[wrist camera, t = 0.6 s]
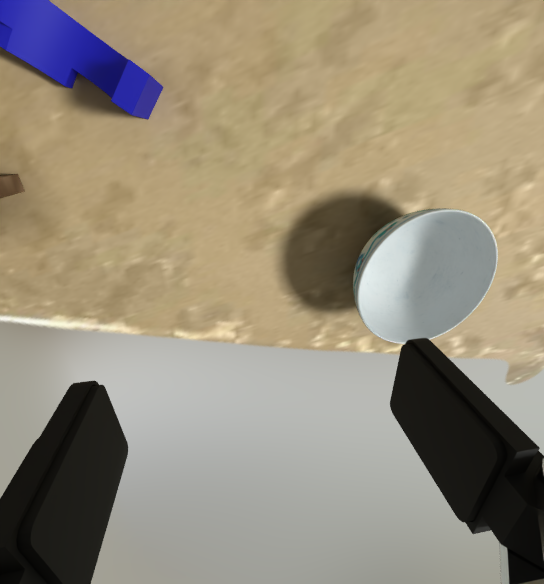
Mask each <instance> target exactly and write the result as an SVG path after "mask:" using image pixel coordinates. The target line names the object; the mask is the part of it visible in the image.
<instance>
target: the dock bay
mask: <svg viewBox="0 0 544 584" xmlns="http://www.w3.org/2000/svg"><path fill="white" fill-rule="evenodd" d="M24 191H25V190H24V188H23V185H22V183H21V181H20V178H19V176H18V174H14V175H0V198H3V197H6V196H10V195H13V194H17V193H21V192H24Z"/></svg>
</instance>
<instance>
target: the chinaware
mask: <svg viewBox="0 0 544 584" xmlns="http://www.w3.org/2000/svg"><path fill="white" fill-rule="evenodd" d="M497 260H498V251H497V244H496V240H495V238H494V235H493V233H492V231H491V230H490V228H489V227H488V226H487V224H486V223H485V222H484V221H483V220H481V219H480V218H479V217H477V216H475V215H473V214H471V213H469V212H466V211H462V210H457V209H428V210H421V211H417V212H413V213H409V214H406V215H404V216H401V217H399V218H397V219H395V220H393V221H391V222H389V223H388V224H386V225H385V226H384V227H382V228H381V229H380V230H378V231H377V232H376V233H375V234H374V235H373V236H372V237H371V238H370V240H369V241H368V242H367V244H366V245H365V246H364V248H363V250H362V251H361V253H360V255H359V258H358V260H357V263H356V266H355V270H354V276H353V292H354V298H355V303H356V306H357V309H358V312H359V314H360V317H361V319H362V320H363V322H364V324H365V325H366V326H367V328H368V329H369V330H370V331H371V332H372V333H374V334H375V335H376V336H378V337H380V338H382V339H384V340H386V341H389V342H394V343H401V344H406V342H407V340H411V339H418V338H427V339H429V340H430V339H433V338H436V337H438V336H440V335H442V334H444V333H446V332H448V331H450V330H451V329H453V328H454V327H456V326H457V325H458V324H460V323H461V322H462V321H463V320H465V319H466V318H467V317H468V316H469V315H470V314H471V313H472V312H473V311H474V310H475V309H476V308H477V306H478V305H479V304H480V302H481V301H482V300H483V298H484V297H485V295H486V293H487V292H488V290H489V288H490V286H491V284H492V281H493V278H494V275H495V272H496V268H497Z"/></svg>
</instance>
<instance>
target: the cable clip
mask: <svg viewBox="0 0 544 584" xmlns="http://www.w3.org/2000/svg"><path fill="white" fill-rule="evenodd" d="M0 47H2V48H3V49H5V50H6V51H8V52H10V53H12V54H13V55H15V56H17V57H19V58H20V59H22V60H24V61H25V62H27V63H29V64H30V65H32V66H34V67H35V68H37V69H39V70H40V71H42V72H43V73H45V74H47V75H48V76H50V77H51V78H53V79H54V80H56V81H58V82H59V83H61V84H62V85H64V86H66V87H69V88H72V87H73V85H74V82H75V79H76V77H77V74H78V73H80V74H81V75H83V76H84V77H85V78H87V79H88V80H90V81H91V82H92V83H94V84H95V85H96V86H98V87H99V88H100V89H102V90H103V91H104V92H105V93H107V94H108V95H109V96H110V97H111V98H112V100H111V101H112V102H113V103H115V104H116V105H118V106H119V107H121V108H122V109H123V110H125V111H126V112H128V113H129V114H131V115H133V116H137V117H141V118H145V119H149V117H150V114H151V112H152V110H153V108H154V106H155V104H156V102H157V100H158V98H159V95H160V93H161V91H162V89H163V86H162V85H160V84H159V83H158V82H157V81H156V80H155V79H154V78H153V77H152V76H150V75H149V74H148V73H147V72H145V71H144V70H143V69H141V68H140V67H139V66H137V65H136V64H135V63H133V62H132V61H131V60H128V59H126V58H125V57H124V56H122V55H121V54H119V53H118V52H117V51H115V50H114V49H113V48H111V47H110V46H109V45H107V44H106V43H104V42H103V41H102V40H100V39H99V38H98V37H96V36H95V35H94V34H92V33H91V32H90V31H88V30H87V29H86V28H84V27H83V26H82V25H80V24H79V23H78V22H76V21H75V20H74V19H72V18H71V17H70V16H68V15H67V14H66V13H64V12H63V11H62V10H60V9H59V8H58V7H57V6H55V5H54V4H53V3H51V2H50V1H49V0H0Z"/></svg>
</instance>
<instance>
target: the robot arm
mask: <svg viewBox="0 0 544 584" xmlns="http://www.w3.org/2000/svg"><path fill="white" fill-rule="evenodd" d="M390 407H391V410H392V413H393V415H394V416H395V418H396V419H397V421H398V423H399V424H400V426H401V428H402V429H403V431H404V432H405V434H406V436H407V437H408V439H409V440H410V442H411V444H412V445H413V447H414V449H415V450H416V452H417V453H418V455H419V456H420V458H421V460H422V462H423V463H424V465H425V466H426V468H427V469H428V471H429V473H430V474H431V476H432V478H433V479H434V481H435V483H436V484H437V486H438V487H439V489H440V491H441V492H442V494H443V495H444V497H445V499H446V500H447V502H448V503H449V505H450V507H451V508H452V510H453V512H454V513H455V515H456V516H457V518H458V519H459V520H461V521H462V522H465V523H466V524H467V526H468V527H469V529H470V530H471V532H472V533H473V534H476V533H480V532H485V531H490V530H492V532H493V533H494V535H495V536H496V538H497V539H498V541H499V546H500V569H501V570H500V572H501V584H544V456H543V455H542V454H541V453H540V452H539V451H538V450H539V447H538V446H537V445H536V444H535V443H534V442H533V441H532V440H531V439H530V438H529V437H528V436H527V435H526V434H525V433H524V432H523V431H522V430H521V429H520V428H519V427H518V426H517V425H516V424H514V422H512V420H511V419H510V418H509V417H508V416H507V415H506V414H504V412H502V411H501V410H500V409H499V408H498V407H497V406H496V405H495V404H494V403H493V402H492V401H491V400H490V399H489V398H488V397H487V396H486V395H485V394H484V393H483V392H482V391H481V390H480V389H479V388H478V387H477V386H476V385H475V384H474V383H473V382H472V381H471V380H470V379H469V378H468V377H467V376H466V375H465V374H464V373H463V372H462V371H461V370H460V369H458V367H456V365H455V364H454V363H453V362H451V360H449V359H448V358H447V357H446V356H445V355H444V354H443V353H442V352H441V351H440V350H439V349H438V348H437V347H436V346H435V345H434V344H433V343H432V342H431V341H430V340H429V339H427V338H418V339H411V340H407V342H406V344H405V345H403V346H402V348H401V352H400V357H399V362H398V367H397V371H396V376H395V381H394V386H393V391H392V396H391V401H390ZM127 455H128V444H127V441H126V439H125V436H124V433H123V431H122V429H121V426H120V424H119V421H118V418H117V416H116V414H115V411H114V409H113V406H112V404H111V401H110V399H109V396H108V394H107V391H106V389H105V387H104V386H103V385H99V384H98V383H97V382H96V381H88V382H80V383H74V384H72V385H71V386H70V387H69V389H68V390H67V392H66V394H65V395H64V397H63V399H62V401H61V402H60V404H59V405H58V407H57V409H56V411H55V412H54V414H53V416H52V417H51V419H50V421H49V422H48V424H47V426H46V428H45V429H44V431H43V432H42V434H41V436H40V437H39V438H38V439H37V440H36V441H35V443H34V444H33V445H32V447H31V449H30V450H29V452H28V454H27V455H26V457H25V459H24V460H23V462H22V464H21V465H20V467H19V469H18V470H17V472H16V474H15V475H14V477H13V478H12V480H11V482H10V484H9V485H8V487H7V489H6V490H5V492H4V493H3V495H2V497H1V498H0V584H91V580H92V577H93V573H94V570H95V566H96V563H97V559H98V555H99V552H100V549H101V545H102V541H103V538H104V535H105V531H106V528H107V525H108V521H109V517H110V514H111V511H112V507H113V503H114V500H115V497H116V493H117V490H118V486H119V483H120V479H121V476H122V472H123V469H124V466H125V462H126V458H127Z"/></svg>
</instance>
